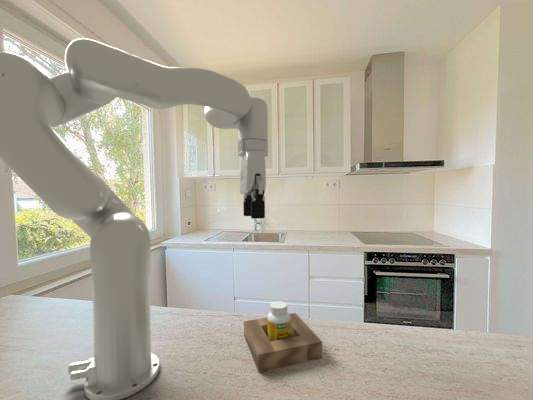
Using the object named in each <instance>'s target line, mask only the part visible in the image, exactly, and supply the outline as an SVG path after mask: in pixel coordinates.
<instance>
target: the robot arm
mask: <svg viewBox="0 0 533 400" xmlns="http://www.w3.org/2000/svg"><path fill="white" fill-rule="evenodd" d="M64 63H65V69H66V71H64V72H62V73H59V74H57V75H54V76H51V77H50V76H49V75H48V74H47V73H46V71H45V70H44V69H43V68H41V67H40V66H39V65H37V64H36V63H35V62H34V61H32V60H30V59H28V58H26V57H25V56H22V55H20V54H17V53H13V52H10V51H1V50H0V159H1V160H2V162H3V163H5V165H7V166H8V168H10V169H11V170H12V171H13V172H14V174H16V176H18V178H19V179H20V180H21V181H23V183H24V184H26V185H27V186H28V187H29V188H30V189H31V191H32V192H34V193H35V194H36V195H37V196H38V198H40V199H41V200H42V201H43V202H44V203H45V204H46V205H47V206H48V208H49V209H51V212H53V213H55V214H56V215H57V216H59V217H61V218H64V219H67V220H71V221H72V222H73V223H74V224H75V225H77V227H78V228H80V229H81V230H82V231H83V233H85V234H86V235H87V236H89V237H88V238H90V242H89V257H90V258H89V259H90V269H91V284H92V285H91V293H92V316H93V318H92V319H93V321H92V322H93V326H92V327H93V356H91V357H90V358H89V359H85V360H77V361H71V362H70V363H69V365H68V369H67V370H68V372H67V373H68V375H70V381H74V380H80V379H84V378H85V381H84V384H83V387H84V388H83V393H84V396H85V397H86V398H87V399H89V400H123V399H125V398H128V397H130V396H132V395H134V394H137V393H138V392H140V391H142V390H143V389H144V388H146V387H147V386H149V384H150V383H152V382H153V381H154V380H155V378H156V377H157V375H158V374H159V372H160V368H161V367H160V365H161V364H160V363H161V360H160V357H158V355H156V354H155V353H153V352H152V340H151V339H152V338H151V336H152V335H151V334H152V333H151V332H152V330H151V327H152V326H151V325H152V324H151V291H150V288H151V287H150V286H151V285H150V284H151V282H150V266H151V265H150V264H151V263H150V262H151V259H150V258H151V236H150V235H151V234H150V232H149V228H148V227H147V225H146V224H145V222H144V221H143V220H142V219H141V218H140V217H138V216H137V215H136V214H135V213H134V212H133V211H132V210H131V209H130V207H128V206H127V205H126V204H125V202H123V200H122V199H120V197H119V196H118V195H117V194H116V193H115V192H114V191H113V190H112V189H111V187H110V186H108V184H107V183H106V182H105V180H104V179H103V178H102V177H100V176H99V175H98V174H97V173H96V172H94V171H93V170H92V169H90V167H89V166H87V165H86V163H84V162H83V161H82V160H81V158H79V156H78V155H77V154H76V153H75V152H74V151H73V150H72V149H71V148H70V146H69V145H68V144H67V143H66V142H65V140H63V138H62V137H61V136H60V135H59V134H58V133H57V132H56V131H55V129H53V128H56V127H59V126H62V125H64V124H67V123H69V122H71V121H73V120H76V119H78V118H80V117H82V116H85V115H87V114H90V113H92V112H94V111H96V110H99V109H101V108H103V107H105V106H107V105H109V104H110V103H112V102H113V101H115V99H116V98H119V99H122V100H125V101H129V102H133V103H137V104H139V105H142V106H143V105H144V106H146V107H149V108H153V109H157V110H158V109H159V110H160V109H161V110H162V109H163V110H164V109H169V108H174V107H177V106H184V105H195V106H202V107H204V110H203V111H204V113H203V114H204V118H205V120H206V121H207V123H208V124H209V125H210V126H212V127H214V128H216V129H222V130H223V129H224V130H228V129H229V130H230V129H237V141H238V144H237V148H238V149H237V153H238V157H241V160H240V172H239V173H240V174H239V181H240V182H239V194H240V195H243V205H242V206H243V216H244V217H250V218H251V219H253V220H255V219H256V220H257V219H265V218H266V216H265V215H266V214H265V213H266V209H265V207H266V201H265V200H266V197H265V192H266V187H267V172H266V171H267V170H266V169H267V168H266V157H267V156H268V155H269V147H268V146H269V140H268V139H269V132H268V131H269V128H268V127H269V125H268V124H269V123H268V122H269V121H268V119H269V118H268V117H269V115H268V113H269V112H268V110H269V109H268V104H267V102H266V101H265V100H264V99H262V98H259V97H251V95H250V92H249V91H248V89H246V87H245V86H244V85H243V84H241V83H240V82H238V81H237V80H234V79H233V78H231V77H228V76H226V75H223V74H221V73H219V72H215V71H213V70H209V69H205V68H199V67H196V68H195V67H182V66H181V67H180V66H169V67H168V66H165V65H161V64H158V63H155V62H153V61H151V60H148V59H145V58H142V57H141V56H137V55H134V54H131V53H129V52H126V51H124V50H121V49H119V48H117V47H113V46H111V45H108V44H105V43H102V42H100V41H97V40H94V39H91V38H85V37H81V38H80V37H79V38H76V39H73V40H72V41H71V42H70V43H68V46H67V47H66V49H65V53H64Z"/></svg>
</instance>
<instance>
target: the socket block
mask: <svg viewBox="0 0 533 400" xmlns="http://www.w3.org/2000/svg"><path fill="white" fill-rule="evenodd" d="M289 314H290V319H291V338H286V339H281V340H276V341H271V342H270V341H269V339H268V324H267V317H264V318H263V317H262V318H256V319H250V320H244V321H243V336H244V338H245V342H246V344H247V347H248V349H249V351H250V354H251V357H252V359H253V362H254V364H255V367H256V370H257V371H258V373H263V372H268V371H271V370H276V369H281V368H284V367H288V366H294V365H297V364H302V363H307V362H310V361H315V360H316V361H317V360H320V359H323V342H322V340H321V338H320V337H319V336H317V334H316V333H315V332H314V331H313V330H312V329H311V328H310V327H309V326H308V325H307V324H306V322H304V321H303V319H302V318H301V317H300V315H298V314H297V313H296V312H293V313H289Z"/></svg>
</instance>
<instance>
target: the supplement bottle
mask: <svg viewBox="0 0 533 400" xmlns="http://www.w3.org/2000/svg"><path fill="white" fill-rule="evenodd" d="M290 314H291V313H289V312H288V304H287V303H286V302H284V301H281V300H278V301H273V302H271V303H270V305H269V313H268V314H267V316H266V318H267V324H268V339H269V341H270V342H271V341H276V340H281V339H286V338H291V319H290Z"/></svg>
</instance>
